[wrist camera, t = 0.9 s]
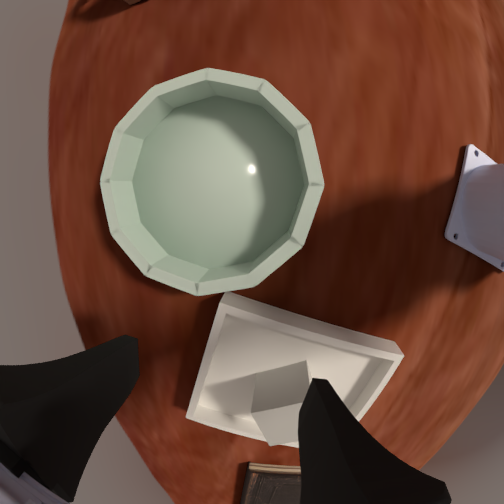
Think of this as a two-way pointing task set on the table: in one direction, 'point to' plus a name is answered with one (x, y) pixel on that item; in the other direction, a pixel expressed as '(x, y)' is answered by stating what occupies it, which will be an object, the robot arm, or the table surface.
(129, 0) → the pottery mug
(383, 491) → the robot arm
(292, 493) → the hardcover book
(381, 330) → the table surface
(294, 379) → the block
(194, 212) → the bowl
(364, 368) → the tray
